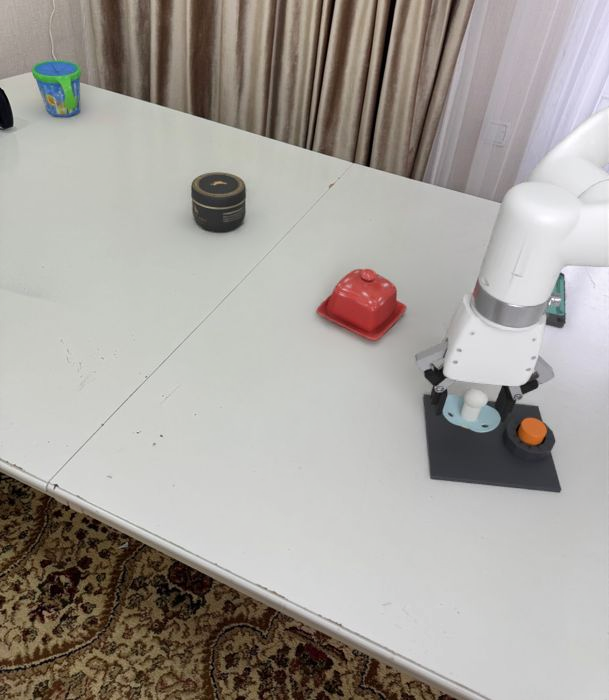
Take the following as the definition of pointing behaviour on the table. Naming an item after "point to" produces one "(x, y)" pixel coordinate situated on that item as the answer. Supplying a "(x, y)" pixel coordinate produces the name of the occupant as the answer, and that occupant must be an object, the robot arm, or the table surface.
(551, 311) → the smartphone
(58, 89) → the snack cup
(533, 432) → the button
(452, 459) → the dark grey flat plate
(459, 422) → the pacifier
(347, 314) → the butter dish
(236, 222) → the jar
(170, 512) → the table surface
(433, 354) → the robot arm
